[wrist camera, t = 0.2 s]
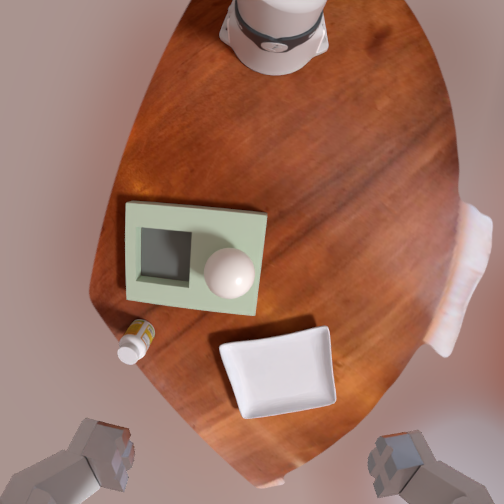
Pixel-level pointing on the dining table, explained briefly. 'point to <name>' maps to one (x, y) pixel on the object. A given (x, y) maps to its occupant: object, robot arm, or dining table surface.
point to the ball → (229, 273)
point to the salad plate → (281, 372)
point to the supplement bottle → (135, 341)
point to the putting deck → (188, 253)
